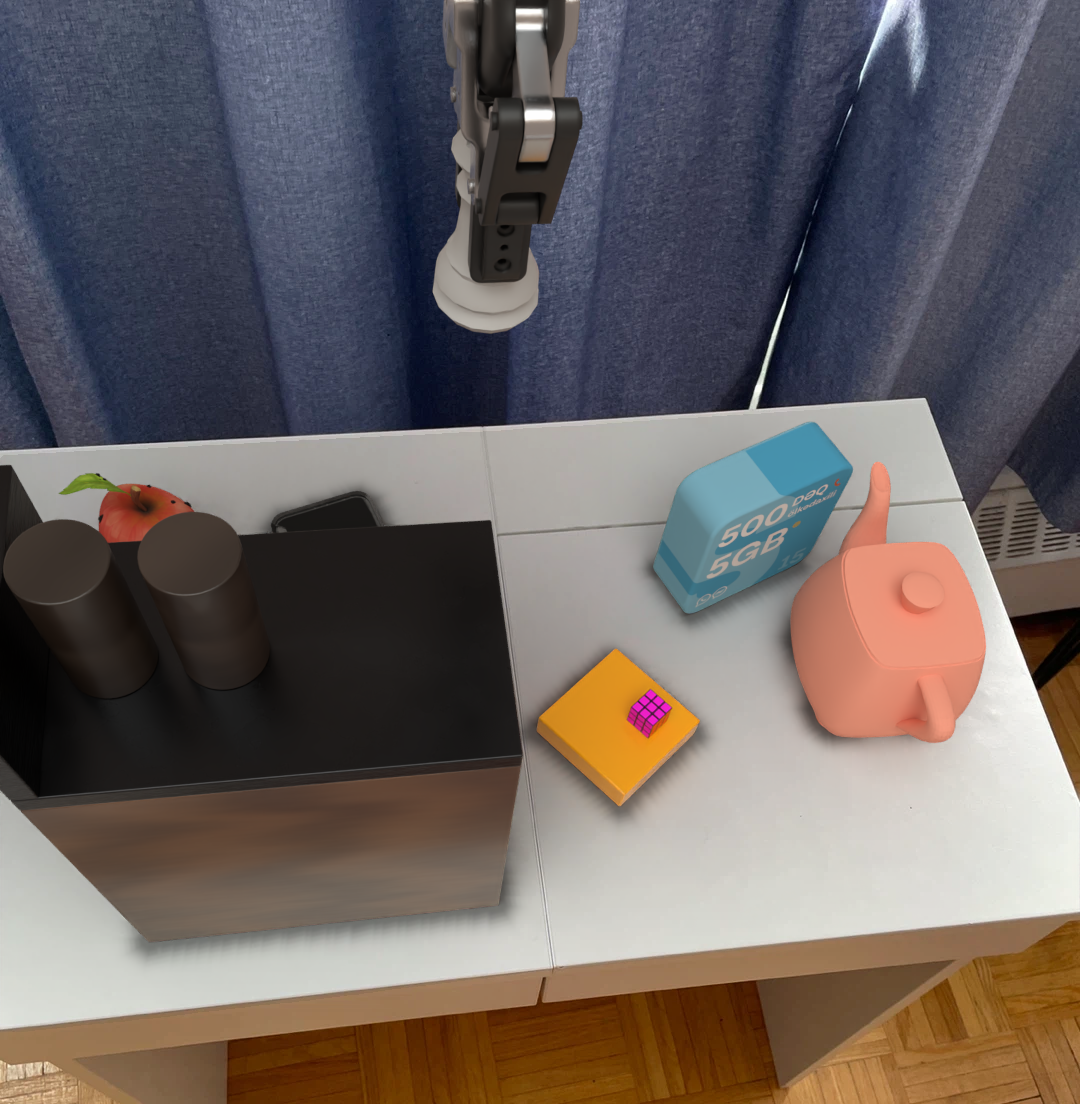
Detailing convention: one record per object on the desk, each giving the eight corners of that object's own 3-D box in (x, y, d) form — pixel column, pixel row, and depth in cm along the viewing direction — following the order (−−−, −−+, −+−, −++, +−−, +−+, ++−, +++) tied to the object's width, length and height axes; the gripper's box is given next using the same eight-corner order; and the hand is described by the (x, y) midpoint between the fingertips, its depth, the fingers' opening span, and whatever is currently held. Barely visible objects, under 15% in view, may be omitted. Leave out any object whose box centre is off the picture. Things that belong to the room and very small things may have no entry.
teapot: (972, 783, 77) (1058, 709, 66) (813, 799, 76) (874, 726, 65) (895, 549, 86) (961, 449, 75) (751, 559, 84) (796, 459, 73)
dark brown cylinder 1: (47, 672, 49) (-21, 573, 42) (106, 607, 50) (50, 502, 43) (119, 714, 48) (63, 622, 41) (176, 647, 50) (131, 547, 43)
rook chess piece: (427, 262, 46) (428, 83, 39) (530, 260, 47) (550, 84, 40) (437, 341, 45) (441, 168, 37) (545, 338, 45) (569, 168, 38)
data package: (680, 621, 81) (716, 525, 70) (648, 575, 83) (679, 475, 72) (808, 560, 84) (861, 459, 74) (774, 517, 86) (822, 413, 75)
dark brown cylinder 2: (162, 663, 49) (115, 565, 42) (216, 600, 51) (179, 495, 44) (235, 705, 49) (199, 612, 42) (287, 639, 50) (262, 539, 43)
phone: (334, 683, 75) (266, 516, 81) (336, 690, 76) (268, 525, 82) (441, 647, 77) (367, 486, 83) (441, 654, 78) (368, 495, 84)
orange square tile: (619, 807, 74) (628, 784, 70) (535, 731, 76) (540, 704, 72) (694, 733, 77) (707, 707, 73) (611, 662, 79) (620, 632, 75)
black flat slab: (19, 811, 47) (-48, 742, 41) (38, 560, 53) (-19, 465, 46) (521, 766, 50) (533, 696, 43) (490, 533, 55) (496, 439, 49)
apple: (187, 513, 82) (156, 423, 73) (226, 580, 80) (199, 496, 71) (88, 554, 80) (43, 466, 71) (125, 624, 77) (84, 543, 68)
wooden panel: (148, 942, 68) (19, 811, 47) (152, 752, 73) (38, 560, 53) (498, 905, 71) (521, 766, 50) (477, 725, 76) (490, 533, 55)
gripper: (734, -160, 25) (614, 371, 41) (620, -437, 31) (553, 120, 47) (412, -170, 24) (414, 381, 40) (356, -456, 30) (377, 122, 45)
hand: (489, 237), depth 43 cm, fingers closed on rook chess piece, 3 cm apart
